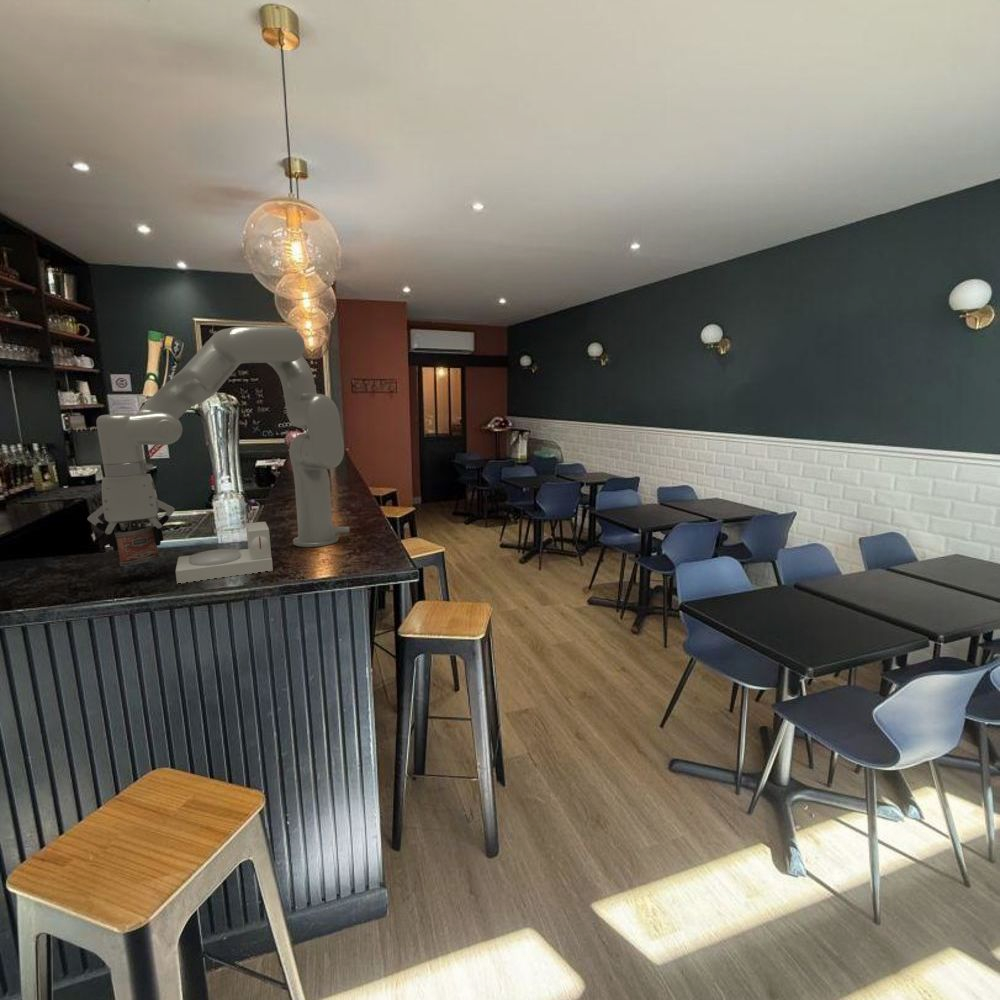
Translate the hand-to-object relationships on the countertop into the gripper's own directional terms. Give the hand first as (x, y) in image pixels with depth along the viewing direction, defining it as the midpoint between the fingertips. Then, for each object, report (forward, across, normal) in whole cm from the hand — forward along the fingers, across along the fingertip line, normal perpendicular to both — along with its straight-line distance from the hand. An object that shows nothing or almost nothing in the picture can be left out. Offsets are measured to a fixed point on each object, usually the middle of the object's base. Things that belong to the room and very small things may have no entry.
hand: (137, 546), depth 122 cm
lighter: (+4, 0, 0) cm, 4 cm away
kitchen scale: (+8, -17, +1) cm, 19 cm away
